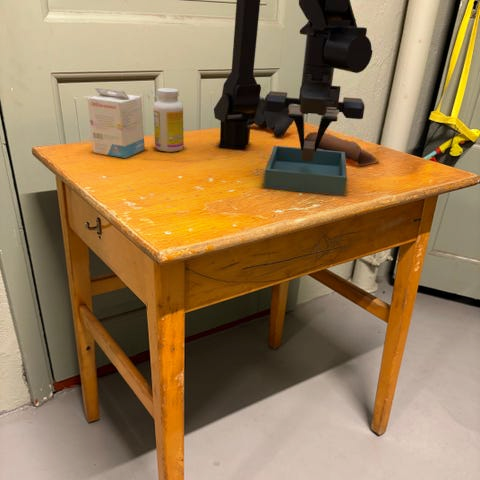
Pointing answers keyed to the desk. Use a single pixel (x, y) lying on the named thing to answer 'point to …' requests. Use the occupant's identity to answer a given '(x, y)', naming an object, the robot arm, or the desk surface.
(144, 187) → the desk surface
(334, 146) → the sunglasses case
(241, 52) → the robot arm
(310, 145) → the brown and grey bar
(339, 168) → the cutlery tray
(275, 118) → the game controller
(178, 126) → the supplement bottle
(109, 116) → the ink box
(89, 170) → the desk surface
